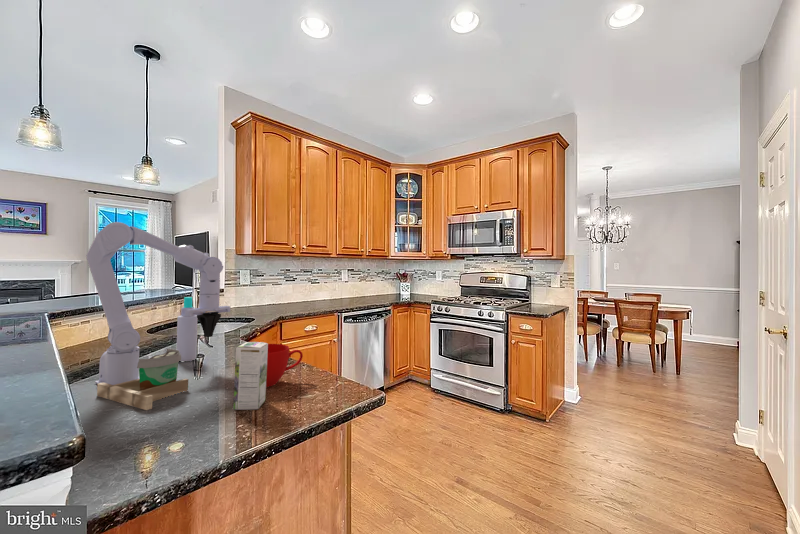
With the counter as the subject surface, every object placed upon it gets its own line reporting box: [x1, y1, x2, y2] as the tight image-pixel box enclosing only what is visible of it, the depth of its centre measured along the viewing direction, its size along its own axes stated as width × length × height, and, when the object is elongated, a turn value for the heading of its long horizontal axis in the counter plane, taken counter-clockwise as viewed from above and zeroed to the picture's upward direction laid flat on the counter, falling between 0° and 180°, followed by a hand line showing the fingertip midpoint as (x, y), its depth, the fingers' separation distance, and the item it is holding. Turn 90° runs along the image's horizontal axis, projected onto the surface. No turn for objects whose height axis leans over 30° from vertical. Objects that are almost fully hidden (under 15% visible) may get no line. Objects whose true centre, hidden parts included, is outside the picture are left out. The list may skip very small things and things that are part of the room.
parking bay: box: [96, 378, 189, 411], centre depth 89 cm, size 20×13×3 cm, turn 66°
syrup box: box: [232, 341, 269, 411], centre depth 84 cm, size 6×6×14 cm
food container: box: [137, 348, 181, 391], centre depth 91 cm, size 12×6×10 cm, turn 3°
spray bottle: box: [176, 296, 199, 362], centre depth 124 cm, size 6×6×22 cm
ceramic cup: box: [266, 343, 304, 388], centre depth 101 cm, size 13×17×10 cm
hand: (208, 336), depth 113 cm, fingers closed
